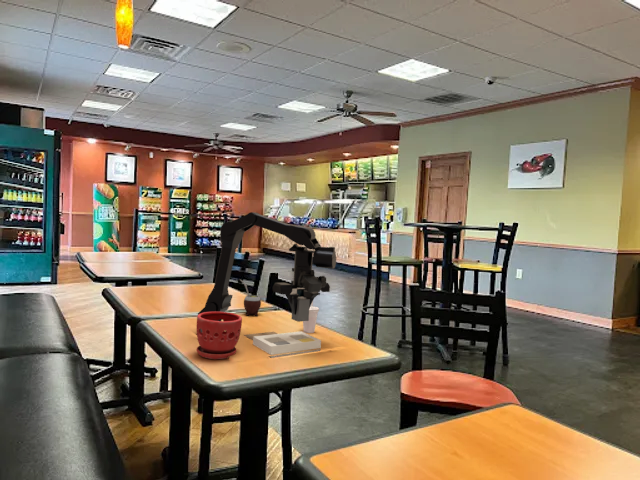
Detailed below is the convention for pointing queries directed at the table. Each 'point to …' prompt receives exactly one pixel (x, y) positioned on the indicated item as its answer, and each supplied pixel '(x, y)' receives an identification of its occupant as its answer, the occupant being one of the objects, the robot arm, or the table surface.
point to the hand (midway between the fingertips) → (300, 313)
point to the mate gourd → (251, 303)
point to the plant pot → (218, 334)
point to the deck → (259, 334)
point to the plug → (302, 310)
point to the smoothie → (311, 320)
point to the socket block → (287, 343)
